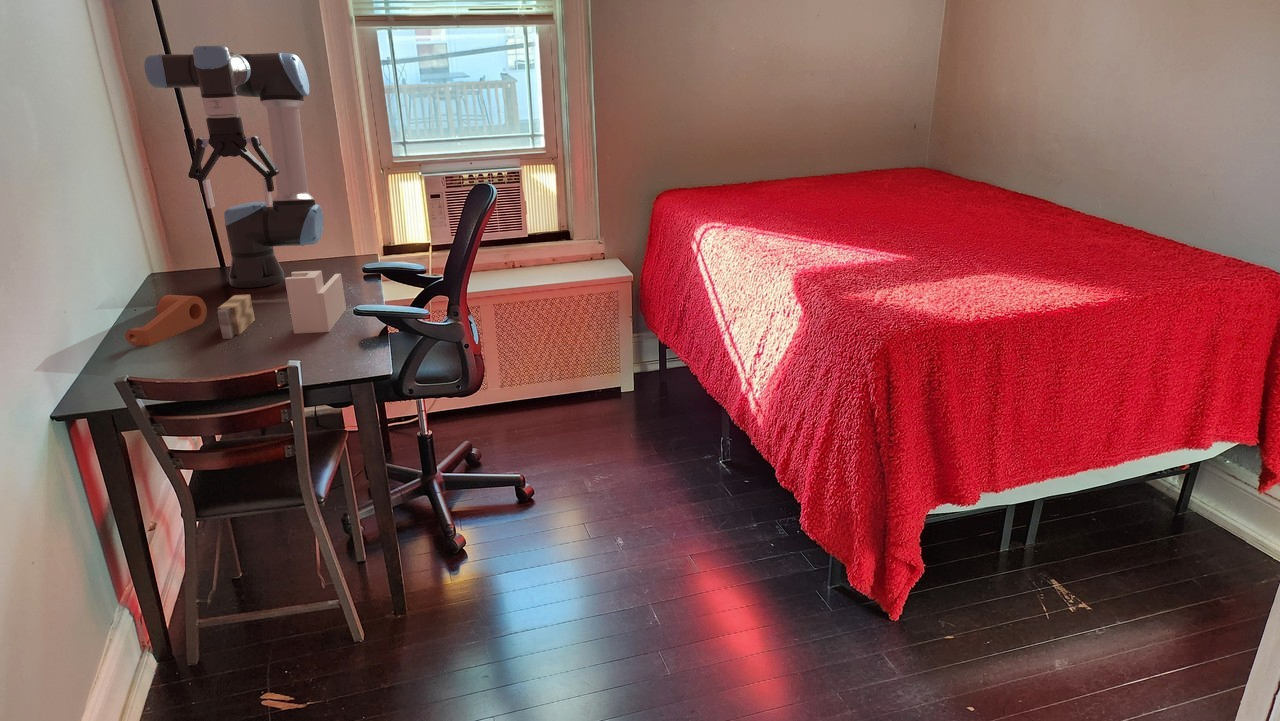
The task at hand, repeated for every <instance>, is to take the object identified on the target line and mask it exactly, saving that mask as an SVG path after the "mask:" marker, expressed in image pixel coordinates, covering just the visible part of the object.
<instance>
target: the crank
mask: <svg viewBox="0 0 1280 721" xmlns="http://www.w3.org/2000/svg"><path fill="white" fill-rule="evenodd" d="M156 312H157V313H156V314H157V316H155V317H154V318H152V319H151V320H150V321H149V322H147V323H146V324H145V325H143V326H142V327H134V328H131V329H128V330H126V332H125V340H126V341H127V342H128V343H129V344H130V345H132V346H135V347H136V346H137V347H138V346H148V347H150V346H153V345H156V344H157V343H160V342H163V341H165V340H167V339H170V338H172V337H174V336H177V335H179V334H182V333H184V332H187V331H189V330H191V329H193V328H197V327H199V326H201V325H203V324H204V322H205V321H206V318H207V313H208V310H207V304H206V303H205V300H203V299H202V297H199V296H197V295H178V294H166V295H164V296H162V297H161V298H160V300H159V301H158V303H157V308H156Z"/></svg>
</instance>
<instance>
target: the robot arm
mask: <svg viewBox="0 0 1280 721" xmlns="http://www.w3.org/2000/svg"><path fill="white" fill-rule="evenodd" d="M143 64H144V65H143V66H144V67H143V68H144V73H145V76H146V79H147V81H148V83H149V84H150V85H151V86H152V87H153V88H157V89H159V88H160V89H161V88H162V89H177V88H178V89H199V90H200V96H201V100H202V101H201V102H202V105H203V111H204V115H205V116H208V117H207V118H206V119H205V122H206V126H207V131H208V135H209V136H208V138H204V137H202V136H200V137H198V138H195V146H196V147H195V151H194V155H193V158H192V161H191V164H190V165H191V166H190V168H189V172H188V174H187V175H188V178H189V179H194V180H195V181H196V180H197V182H198V185H199V186H198V187H199V192H200V193H201V195H204V197H205V201H206V205H207V209H213V208H214V207H216V203H215V199H214V194H213V189H212V184H211V179H210V178H209V179H207V178H208V175H209V174H210V172H211V171H212V169H213V167H215V164H216V163H217V161H218V160H219V158H220V157H222V158H227V157H232V158H235V157H239V156H240V157H241V159H244V160H245V161H246V162H247V163H248V164H250V166H252V167H253V169H255V170H256V171H257V172H258V173H260V175H261V176H262V177H263V178H262V179H261V183H262V189H263V195H264V200H265V201H259V200H258V201H253V202H252V201H251V202H246V203H241V204H238V205H234V206H231V207H228V208H227V209H225V211H224V212H223V217H224V227H225V230H226V235H227V240H228V246H229V251H230V256H231V263H230V269H229V275H228V280H229V285H230V286H231V287H233V288H238V289H239V288H240V289H247V288H249V289H250V288H261V287H268V286H272V285H277V284H278V283H279V284H280V283H281V282H283V281H285V278H286V277H285V272H284V270H283V268H282V265H281V264H280V263H279V260H278V259H277V257H276V255H275V251H274V247H293V246H295V247H296V246H298V247H300V246H301V247H305V246H311V245H312V246H313V245H316V244H318V243H319V242H320V240H321V239H322V236H323V231H324V213H323V208H322V206H321V205H319V204H316V199H315V197H313V196H312V195H311V194H310V191H309V187H308V186H309V185H308V177H307V169H306V168H307V167H306V159H305V158H306V157H305V151H304V140H303V133H302V132H303V131H302V123H301V122H302V121H301V115H300V114H301V113H300V109H301V107H302V106H303V105H304V104H305V100H304V97H307V96H309V95H310V82H309V78H308V75H307V74H308V73H307V71H306V68H305V66H304V63H303V62H302V60H301V58H300V57H299V56H298V55H296V54H295V53H285V52H272V53H270V52H269V53H268V52H267V53H266V52H265V53H240V54H238V53H234V52H229V48H228V47H227V46H226V45H218V44H216V45H196V46H194V47H193V50H192V53H191V54H188V53H187V54H177V53H176V54H175V53H173V54H162V53H160V54H151V55H148V56H146V58H145V59H144V63H143ZM238 96H239V97H246V98H259V101H260V104H261V105H262V106H263V107H265V109H266V110H267V121H268V128H269V135H270V144H271V153H272V158H271V157H270V155H269V154H268V152H267V151H266V150H265V148H264V146H263V145H262V143H261V139H260V136H258V135H253V136H252V137H251V136H250V137H246V135H245V131H244V126H243V120H242V117H241V116H240V115H239V114H240V113H241V109H240V104H239V99H238ZM247 144H249V145H250V147H253V149H254V151H255V152H256V154H257V155H258V157H260V160H261V161H262V162H263V163H262V162H260V160H259V159H257V158H256V157H255V156H254V155H253V154H252V153H251V152H250V150H249V149H247V148H246V147H247ZM209 145H210V146H211V148H212V149H213V150H212V153H211V154H210V155H209V158H208V159H207V160H206V163H205V164H204V166H203V167H202V168H201V165H202V161H203V158H204V155H205V152H206V148H208V146H209ZM200 168H201V170H200ZM273 177H274V179H273ZM274 180H275V187H276V195H275V196H274V198H273V196H272V192H274V191H275V187H274Z"/></svg>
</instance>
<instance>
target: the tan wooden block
mask: <svg viewBox="0 0 1280 721" xmlns="http://www.w3.org/2000/svg"><path fill="white" fill-rule="evenodd" d="M217 316H218V317H217V318H218V323H219V328H220V332H221V337H222V339H223V340H229V339H230V340H231V339H232V338H234V337H235V336H236V335H237V336H238V335H241V334H242V333H243V332H244V331H245V330H247V329H248V327H250V326H251V325H252V324H253V323H254V322H255V320H256V319H255V313H254V307H253V302H252V296H251V293H249V294H234V295H232V296H231V297H230V298H228V300H226V301H225V302H224V303H222V304H221V305H220V306H218V307H217ZM253 321H254V322H253Z"/></svg>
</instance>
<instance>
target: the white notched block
mask: <svg viewBox="0 0 1280 721" xmlns="http://www.w3.org/2000/svg"><path fill="white" fill-rule="evenodd" d="M290 273H291V274H290V275H291V276H288V277H285V279H284V282H285V287H286V292H287V293H286V294H287V300H288V305H289V311H290V318H291V324H292V329H293V334H294V335H295V334H309V333H310V334H313V333H330V332H331V330H332V329H333V328H334V326H336V324H337V322H338V321H339V320H340V319H341V317H342V316H343V315H344V313H345V312H346V311H347V305H346V298H345V292H344V285H343V284H344V283H343V278H342V273H334V275H332V277H331V278H330V279H329V280H328V281H327V282H326V283H325V284H324V277H323V271H322V270H307V271H306V270H303V271H292V272H290ZM345 310H346V311H345ZM344 311H345V312H344ZM342 314H343V315H342Z"/></svg>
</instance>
